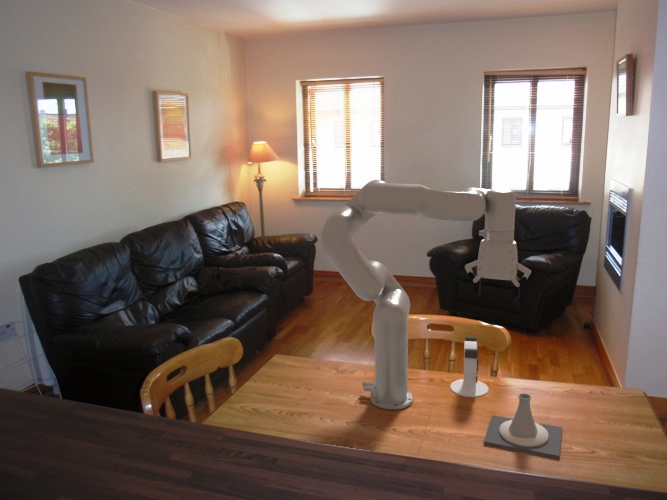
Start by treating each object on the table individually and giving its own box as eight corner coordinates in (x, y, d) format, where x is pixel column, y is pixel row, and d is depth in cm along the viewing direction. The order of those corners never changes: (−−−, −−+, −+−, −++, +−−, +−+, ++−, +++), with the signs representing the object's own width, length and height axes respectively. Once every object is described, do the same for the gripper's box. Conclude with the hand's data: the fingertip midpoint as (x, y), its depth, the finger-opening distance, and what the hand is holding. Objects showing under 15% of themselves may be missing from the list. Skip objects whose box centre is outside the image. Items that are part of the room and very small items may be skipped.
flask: (539, 440, 145) (542, 403, 143) (509, 437, 146) (511, 401, 144) (535, 425, 152) (537, 390, 150) (507, 422, 153) (508, 388, 151)
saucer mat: (483, 444, 147) (483, 438, 146) (491, 417, 159) (492, 412, 159) (559, 458, 140) (559, 453, 139) (561, 430, 152) (562, 424, 152)
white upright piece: (489, 399, 169) (491, 352, 166) (449, 396, 172) (450, 349, 168) (487, 381, 180) (489, 336, 177) (450, 378, 183) (451, 334, 179)
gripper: (463, 236, 153) (461, 298, 157) (531, 241, 146) (527, 305, 150) (469, 231, 160) (466, 290, 164) (534, 235, 153) (530, 297, 157)
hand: (496, 297), depth 157 cm, fingers open, 9 cm apart
